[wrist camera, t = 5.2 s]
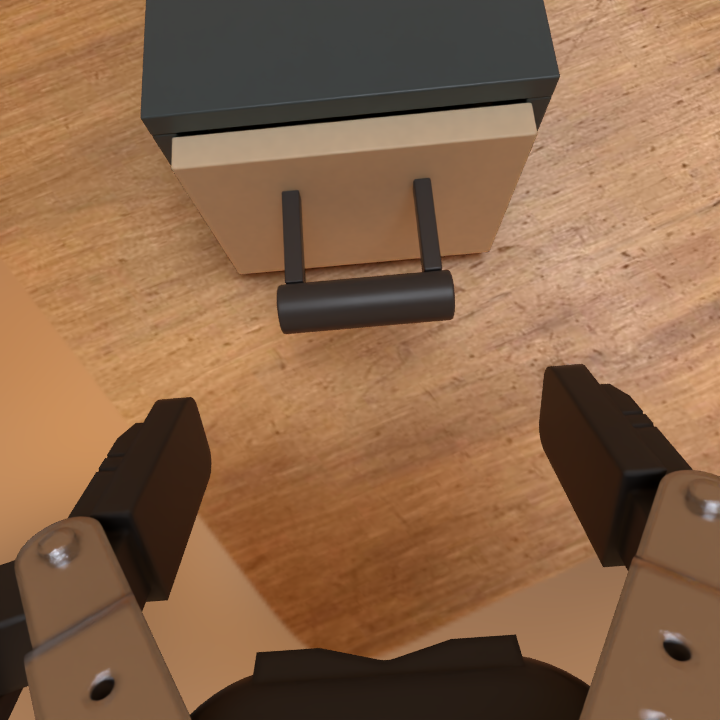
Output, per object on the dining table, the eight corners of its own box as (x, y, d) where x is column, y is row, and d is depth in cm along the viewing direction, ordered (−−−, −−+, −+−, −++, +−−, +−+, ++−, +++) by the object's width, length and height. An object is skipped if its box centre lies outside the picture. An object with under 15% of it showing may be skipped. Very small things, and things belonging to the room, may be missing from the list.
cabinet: (495, 237, 24) (561, 76, 15) (231, 261, 25) (139, 118, 16) (456, -2, 28) (490, -245, 19) (229, 22, 29) (154, -206, 20)
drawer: (506, 359, 22) (568, 284, 14) (240, 381, 22) (166, 320, 15) (452, 17, 27) (478, -170, 19) (235, 39, 27) (178, -137, 20)
